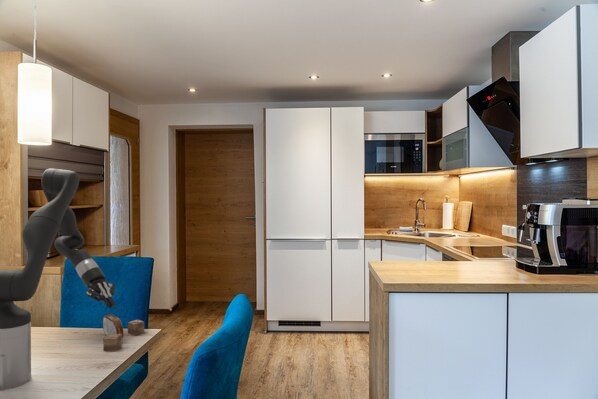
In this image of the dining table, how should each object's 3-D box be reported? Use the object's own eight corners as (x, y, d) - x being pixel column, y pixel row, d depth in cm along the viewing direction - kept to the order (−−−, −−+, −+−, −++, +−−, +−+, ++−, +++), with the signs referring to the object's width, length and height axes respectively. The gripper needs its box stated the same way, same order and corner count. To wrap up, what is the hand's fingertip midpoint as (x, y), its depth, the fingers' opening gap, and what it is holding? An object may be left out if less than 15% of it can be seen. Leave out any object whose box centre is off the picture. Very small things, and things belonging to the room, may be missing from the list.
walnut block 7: (133, 335, 158) (133, 324, 158) (127, 333, 161) (127, 321, 161) (144, 332, 162) (144, 321, 162) (138, 330, 165) (138, 319, 165)
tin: (124, 342, 152) (124, 319, 151) (115, 344, 149) (115, 321, 149) (109, 332, 162) (109, 311, 162) (101, 334, 160) (101, 313, 160)
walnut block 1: (115, 351, 143) (115, 338, 142) (103, 351, 143) (103, 338, 143) (121, 346, 147) (121, 333, 147) (110, 346, 147) (110, 333, 147)
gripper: (79, 269, 153) (103, 304, 149) (108, 264, 165) (131, 296, 161) (70, 282, 155) (93, 317, 151) (99, 275, 167) (121, 308, 163)
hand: (112, 306), depth 156 cm, fingers closed
